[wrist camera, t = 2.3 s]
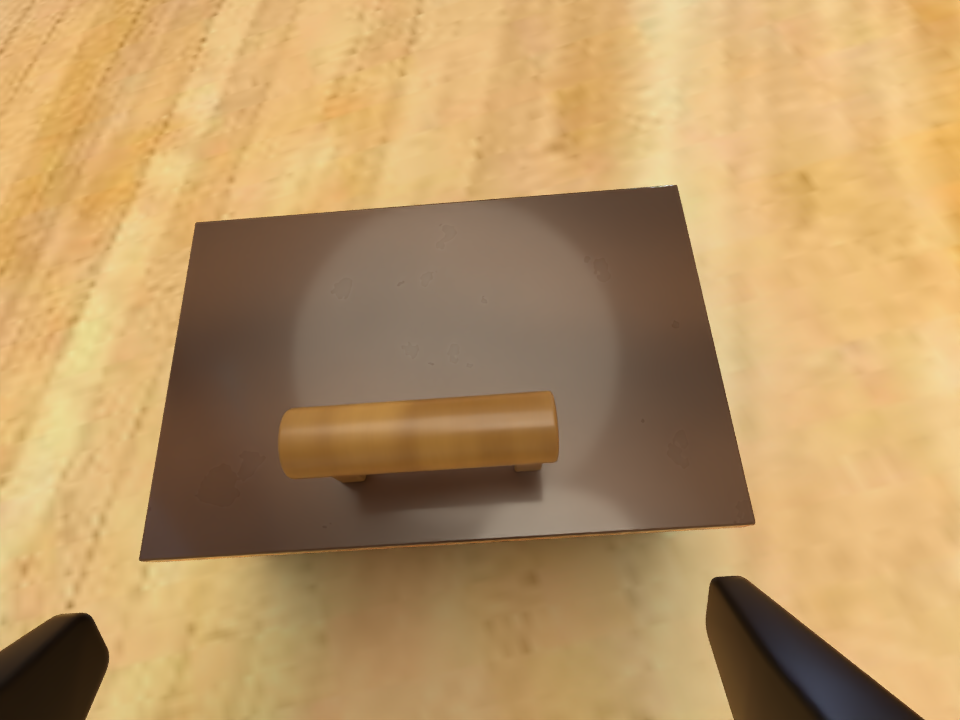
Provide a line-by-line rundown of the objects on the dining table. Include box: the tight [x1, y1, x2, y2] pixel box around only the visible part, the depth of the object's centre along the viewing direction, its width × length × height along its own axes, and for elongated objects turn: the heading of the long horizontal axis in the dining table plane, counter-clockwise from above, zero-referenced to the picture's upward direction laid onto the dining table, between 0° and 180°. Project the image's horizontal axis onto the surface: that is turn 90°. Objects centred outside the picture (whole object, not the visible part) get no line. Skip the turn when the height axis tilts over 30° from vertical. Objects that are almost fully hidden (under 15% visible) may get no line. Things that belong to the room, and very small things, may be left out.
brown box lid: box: [139, 185, 755, 562], centre depth 14 cm, size 10×16×5 cm
